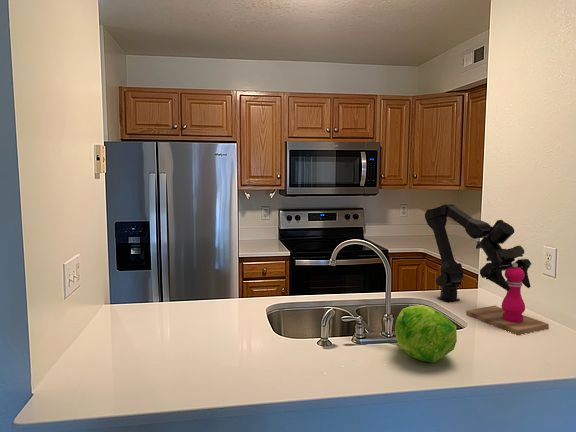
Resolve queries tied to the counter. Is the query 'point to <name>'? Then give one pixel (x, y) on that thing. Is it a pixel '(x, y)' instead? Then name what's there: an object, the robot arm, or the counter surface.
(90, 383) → the counter surface
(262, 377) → the counter surface
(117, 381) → the counter surface
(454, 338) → the lettuce
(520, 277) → the pepper mill
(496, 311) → the walnut board
